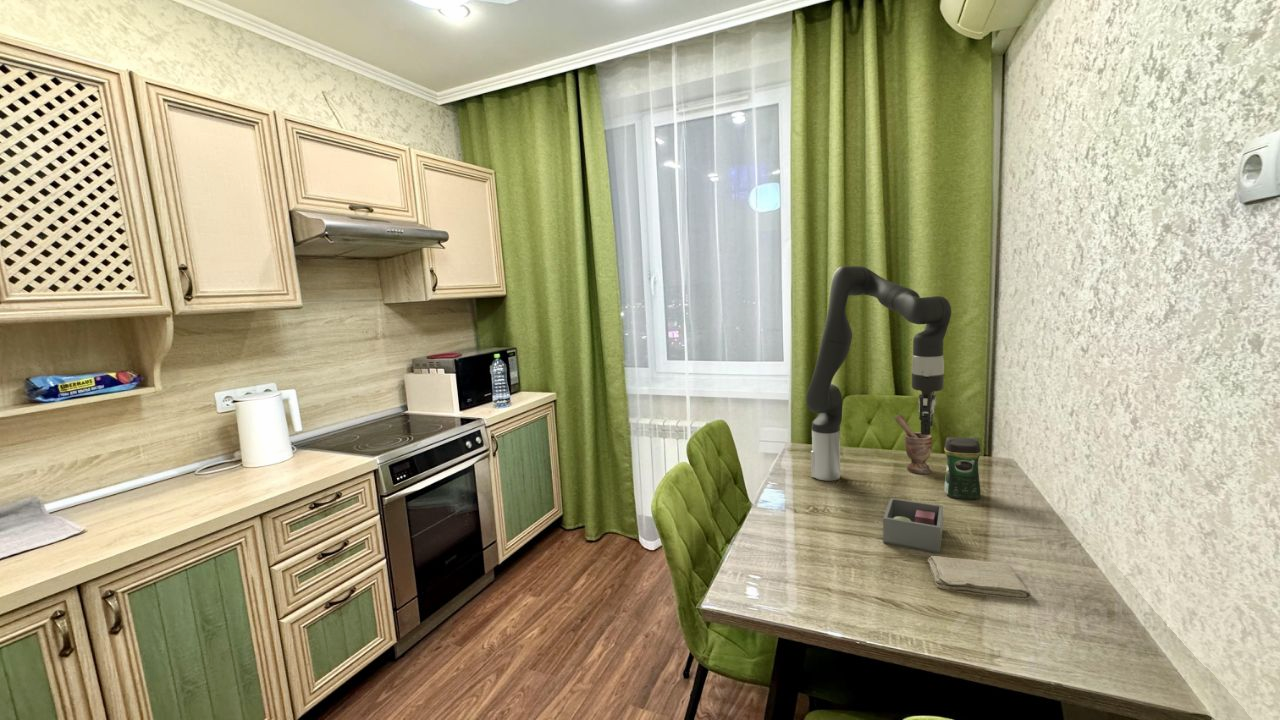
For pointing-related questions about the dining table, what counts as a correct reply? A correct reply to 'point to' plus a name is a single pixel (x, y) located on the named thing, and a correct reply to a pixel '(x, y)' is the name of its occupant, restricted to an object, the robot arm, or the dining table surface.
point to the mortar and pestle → (916, 447)
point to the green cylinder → (902, 518)
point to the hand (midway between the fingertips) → (926, 430)
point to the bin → (912, 526)
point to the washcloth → (977, 577)
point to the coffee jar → (962, 468)
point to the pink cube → (925, 517)
